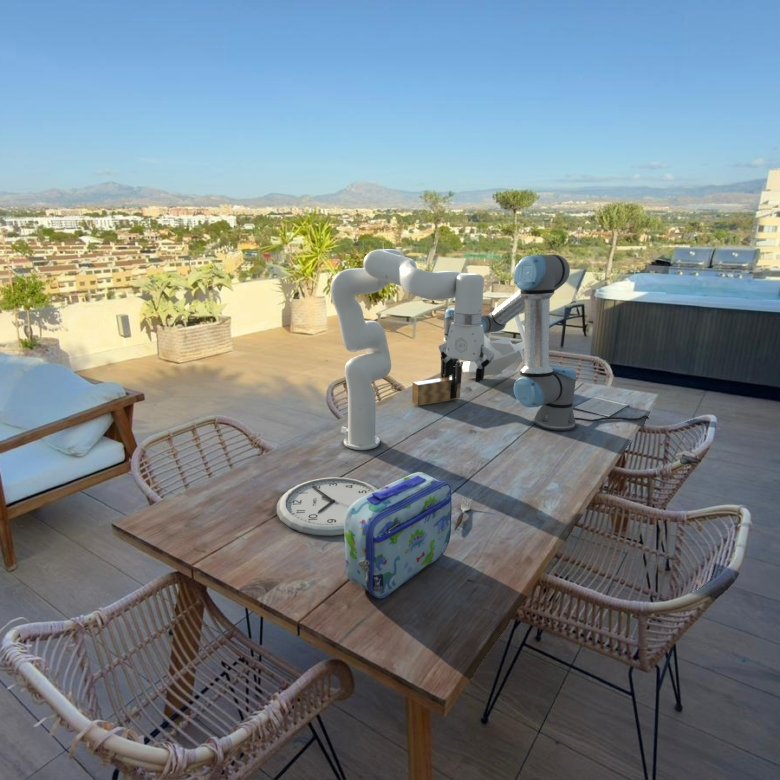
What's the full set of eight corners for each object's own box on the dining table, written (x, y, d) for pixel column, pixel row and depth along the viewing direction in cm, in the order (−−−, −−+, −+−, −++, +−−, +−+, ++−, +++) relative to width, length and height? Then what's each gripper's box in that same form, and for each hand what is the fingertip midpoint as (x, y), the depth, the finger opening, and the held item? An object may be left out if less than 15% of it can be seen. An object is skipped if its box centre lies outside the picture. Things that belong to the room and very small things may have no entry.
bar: (453, 395, 236) (454, 376, 233) (459, 398, 232) (461, 378, 229) (412, 402, 225) (412, 382, 223) (417, 405, 222) (418, 385, 219)
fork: (449, 531, 131) (450, 524, 131) (463, 501, 146) (463, 495, 145) (459, 533, 130) (460, 526, 130) (472, 503, 145) (473, 496, 144)
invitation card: (608, 416, 214) (573, 407, 224) (608, 416, 214) (573, 408, 224) (628, 404, 229) (594, 396, 238) (628, 405, 229) (594, 397, 238)
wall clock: (392, 527, 129) (268, 531, 127) (391, 533, 130) (269, 537, 127) (383, 473, 158) (282, 475, 155) (383, 478, 158) (282, 480, 156)
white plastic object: (482, 419, 265) (461, 396, 241) (463, 346, 287) (443, 319, 263) (553, 395, 253) (539, 368, 228) (528, 321, 275) (513, 290, 250)
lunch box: (372, 611, 103) (373, 518, 97) (338, 585, 111) (336, 497, 104) (455, 557, 121) (460, 475, 115) (420, 537, 128) (424, 459, 122)
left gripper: (434, 317, 147) (431, 375, 153) (489, 324, 138) (485, 386, 143) (447, 314, 153) (444, 370, 158) (502, 321, 143) (497, 380, 148)
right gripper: (433, 341, 230) (431, 392, 237) (457, 349, 216) (454, 403, 223) (447, 340, 234) (445, 389, 241) (472, 348, 219) (468, 400, 226)
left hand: (463, 378), depth 151 cm, fingers open, 9 cm apart
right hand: (449, 396), depth 232 cm, fingers closed on bar, 5 cm apart
